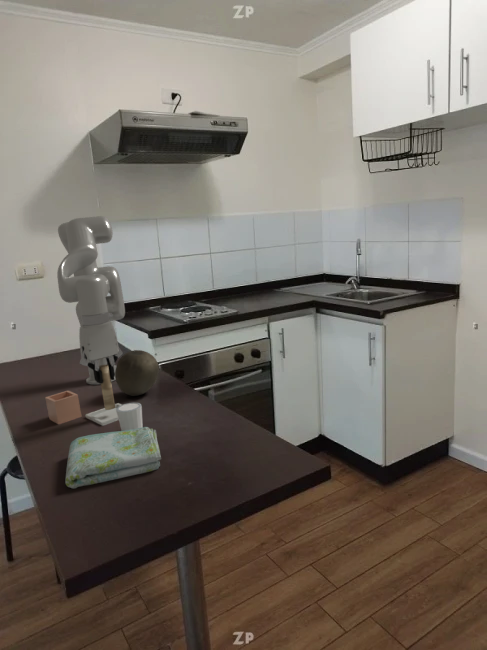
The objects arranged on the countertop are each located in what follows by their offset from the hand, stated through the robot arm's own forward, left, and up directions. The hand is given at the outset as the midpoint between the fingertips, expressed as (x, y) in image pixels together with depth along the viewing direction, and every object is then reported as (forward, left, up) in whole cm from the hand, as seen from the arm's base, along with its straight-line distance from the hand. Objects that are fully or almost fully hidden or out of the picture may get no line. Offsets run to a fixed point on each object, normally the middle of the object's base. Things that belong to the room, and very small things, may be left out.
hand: (105, 380), depth 141 cm
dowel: (0, 0, -9) cm, 9 cm away
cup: (+9, -11, -12) cm, 19 cm away
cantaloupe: (-17, -11, -12) cm, 23 cm away
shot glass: (+1, +15, -12) cm, 19 cm away
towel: (+14, +28, -12) cm, 33 cm away
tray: (0, 0, -12) cm, 12 cm away
